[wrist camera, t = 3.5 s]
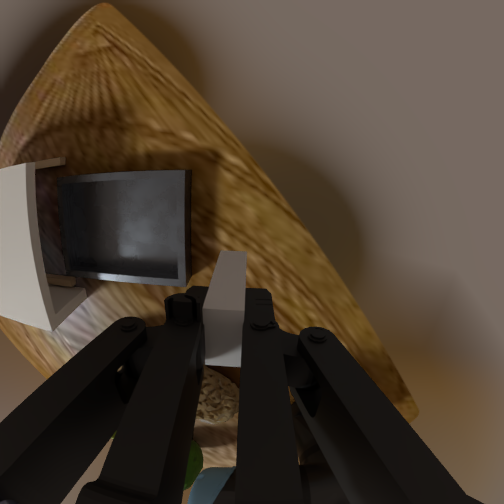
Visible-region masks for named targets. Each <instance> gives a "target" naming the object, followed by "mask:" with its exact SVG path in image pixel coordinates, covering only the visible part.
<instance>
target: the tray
mask: <svg viewBox="0 0 504 504" xmlns="http://www.w3.org/2000/svg"><path fill="white" fill-rule="evenodd" d="M191 175H192V170H145V171H124V172H108V173H95V174H84V175H74V176H66V177H59V178H57V195H58V212H59V224H60V233H61V242H62V249H63V256H64V262H65V268H66V274H67V276H74V277H83V278H92V279H101V280H111V281H121V282H131V283H143V284H154V285H167V286H180V287H186V286H187V284H188V282H189V280H190V278H191V276H192V270H191Z"/></svg>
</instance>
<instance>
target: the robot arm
mask: <svg viewBox="0 0 504 504" xmlns="http://www.w3.org/2000/svg"><path fill="white" fill-rule="evenodd" d="M246 261H247V252H243V251H220V254H219V258H218V261H217V264H216V267H215V270H214V273H213V276H212V279H211V282H210V286H209V287H205V286H192V287H191V288H189V289H188V290H187V291H186V293H178V294H174V295H171V296H169V297H167V298H166V299H165V300H164V302H165V312H166V321H165V323H164V325H161V326H155V327H146V326H145V322H144V321H143V320H142V319H140V318H137V317H124V318H121V319H119V320H117V321H115V322H114V323H113V324H112V325H110V326H109V327H108V328H107V329H106V330H104V331H103V332H102V333H101V334H100V335H98V336H97V337H96V338H95V339H94V340H92V341H91V342H90V343H89V344H88V345H87V346H85V347H84V348H83V349H82V350H81V351H79V352H78V353H77V354H76V355H75V356H74V357H72V358H71V359H70V360H69V361H68V362H67V363H66V364H64V365H63V366H62V367H61V368H60V369H59V370H58V371H56V372H55V373H54V374H53V375H52V376H51V377H50V378H48V379H47V380H46V381H45V382H44V383H43V384H42V385H41V386H39V387H38V388H37V389H36V390H35V391H34V392H33V393H32V394H31V395H30V396H28V397H27V398H26V399H25V400H24V401H23V402H22V403H21V404H20V405H19V406H18V407H17V408H15V409H14V410H13V411H12V412H11V413H10V414H9V415H8V416H7V417H6V418H5V419H4V420H3V421H2V422H1V423H0V504H60V503H61V502H62V501H63V500H64V498H65V497H66V496H67V494H68V493H69V492H70V490H71V489H72V488H73V487H74V485H75V484H76V482H77V481H78V480H79V479H80V477H81V476H82V475H83V474H84V472H85V471H86V470H87V468H88V467H89V466H90V464H91V463H92V462H93V461H94V459H95V458H96V457H97V455H98V454H99V453H100V451H101V450H102V449H103V447H104V446H105V445H106V443H107V442H108V441H109V439H110V438H111V437H112V436H113V434H114V433H115V432H116V431H117V432H116V434H115V437H114V439H113V442H112V444H111V447H110V450H109V452H108V455H107V457H106V460H105V462H104V466H103V468H102V471H101V474H100V476H99V478H98V479H97V480H96V481H93V482H88V483H87V484H86V485H84V486H83V487H82V489H81V491H80V493H79V495H78V498H77V501H76V503H75V504H181V503H182V496H183V490H184V484H185V477H186V471H187V465H188V459H189V453H190V447H191V441H192V436H193V430H194V424H195V419H196V413H197V408H198V402H199V397H200V392H201V386H202V381H203V376H204V367H203V363H204V359H205V365H215V366H231V367H241V369H240V391H239V413H238V435H237V459H236V466H233V467H210V468H207V469H205V470H203V471H202V472H201V473H200V474H199V475H198V476H197V478H196V480H195V482H194V484H193V487H192V489H191V492H190V496H189V500H188V504H484V503H482V502H480V501H478V500H476V499H474V498H472V497H470V496H468V495H466V494H465V492H464V491H463V490H462V489H461V487H460V486H459V485H458V484H457V482H456V481H455V480H454V479H453V477H452V476H451V475H450V474H449V472H448V471H447V470H446V469H445V467H444V466H443V465H442V464H441V463H440V461H439V460H438V459H437V458H436V456H435V455H434V454H433V453H432V451H431V450H430V449H429V448H428V447H427V445H426V444H425V443H424V442H423V441H422V439H421V438H420V437H419V436H418V434H417V433H416V432H415V431H414V430H413V428H412V427H411V426H410V425H409V423H408V422H407V421H406V420H405V419H404V417H403V416H402V415H401V414H400V413H399V411H398V410H397V409H396V408H395V407H394V405H393V404H392V403H391V402H390V401H389V399H388V398H387V397H386V396H385V395H384V393H383V392H382V391H381V390H380V389H379V387H378V386H377V385H376V384H375V383H374V381H373V380H372V379H371V378H370V377H369V375H368V374H367V373H366V372H365V371H364V370H363V368H362V367H361V366H360V365H359V364H358V362H357V361H356V360H355V359H354V358H353V356H352V355H351V354H350V353H349V352H348V351H347V349H346V348H345V347H344V346H343V345H342V343H341V342H340V341H339V340H338V339H337V338H336V336H335V335H334V334H333V333H332V332H330V331H329V330H327V329H324V328H321V327H308V328H305V329H303V330H302V331H300V334H299V335H295V334H291V333H287V332H285V331H283V330H281V329H280V328H279V325H278V323H277V322H276V321H275V317H274V310H273V303H272V296H271V293H270V292H269V291H268V290H267V289H260V288H245V286H246ZM121 366H122V368H121V369H120V370H119V371H118V369H119V368H120V367H121ZM288 386H289V387H290V391H291V393H292V395H293V397H294V399H295V402H294V403H293V404H292V405H291V403H290V396H289V390H288ZM298 457H299V461H300V465H299V462H298Z"/></svg>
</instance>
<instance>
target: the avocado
mask: <svg viewBox="0 0 504 504" xmlns="http://www.w3.org/2000/svg"><path fill="white" fill-rule="evenodd" d="M202 468H203V454H202V450H201V448H200V446H199V445H198V444H197V443H196V442H195V441H193V440H192V441H191V447H190V453H189V459H188V465H187V471H186V477H185V484H184V490H186V489H188V488H189V487H191V485H192V484H193V482H194V481H195V479H196V478H197V476H198V474H199V473H200V471H201V469H202Z"/></svg>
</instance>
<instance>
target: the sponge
mask: <svg viewBox="0 0 504 504" xmlns="http://www.w3.org/2000/svg"><path fill="white" fill-rule="evenodd" d="M203 367H204V376H203V381H202V386H201V392H200V397H199V402H198V408H197V413H196V419H200V421H202V422H206V423H209V424H214V425H215V424H219V423H222V422H226V421H228V420H229V419H231V418H233V416H234V414H235V413H237V412H239V391H240V389H239V388H237V385H236V384H235V383H234V382H232V383H231V380H230V379H228V378H226V377H225V376H223V375H222V374H220V373H218V372H216V371H214V370H212V369H210V368H208V367H207V366H205V364H204V363H203ZM121 368H122V366H121V367H120V368H119V369H118V371H119V370H120V369H121Z"/></svg>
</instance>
